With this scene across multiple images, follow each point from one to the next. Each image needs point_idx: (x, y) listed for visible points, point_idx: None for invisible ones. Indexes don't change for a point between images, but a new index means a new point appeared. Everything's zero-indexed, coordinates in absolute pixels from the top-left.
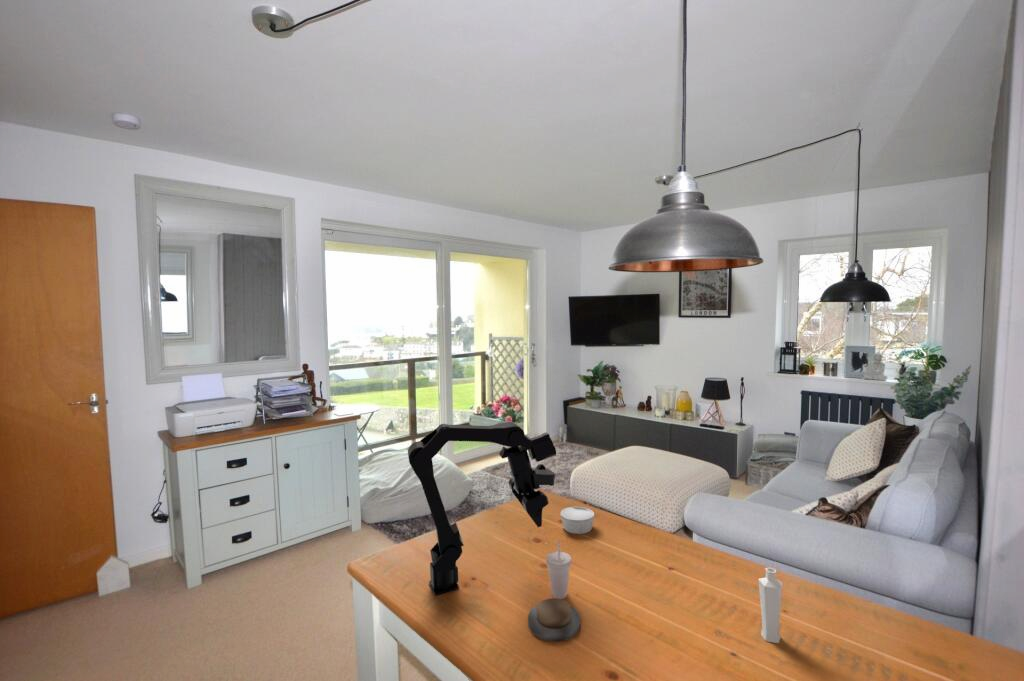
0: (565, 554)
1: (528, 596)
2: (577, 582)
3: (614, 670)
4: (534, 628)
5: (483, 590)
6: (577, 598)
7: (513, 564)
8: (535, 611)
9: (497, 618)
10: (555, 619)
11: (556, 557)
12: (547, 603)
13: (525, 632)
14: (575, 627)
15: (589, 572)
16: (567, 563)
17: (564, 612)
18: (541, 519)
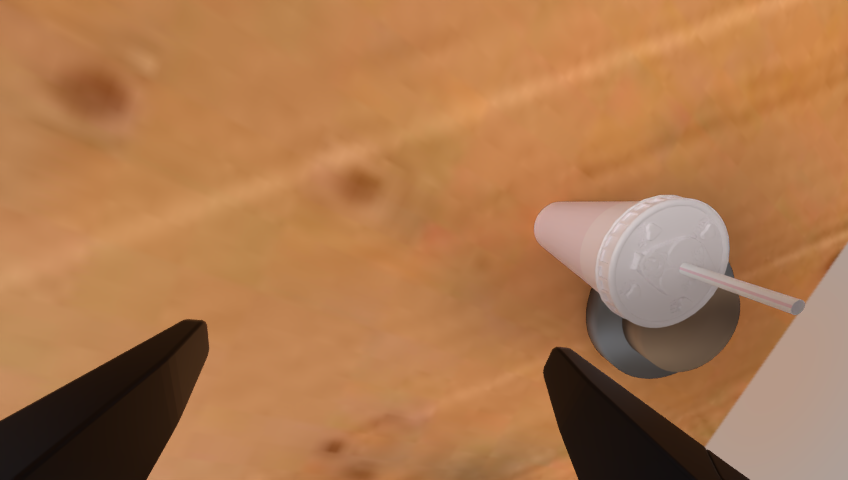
0: (663, 212)
1: (513, 320)
2: (531, 125)
3: (837, 250)
4: (671, 374)
5: (415, 433)
6: (604, 181)
7: (298, 297)
8: (619, 347)
9: (554, 426)
10: (727, 337)
11: (671, 279)
12: (662, 330)
13: (636, 379)
14: (732, 277)
15: (498, 32)
16: (722, 243)
17: (723, 301)
18: (643, 406)
